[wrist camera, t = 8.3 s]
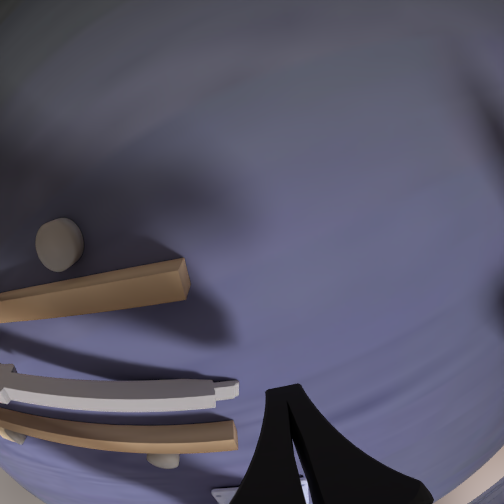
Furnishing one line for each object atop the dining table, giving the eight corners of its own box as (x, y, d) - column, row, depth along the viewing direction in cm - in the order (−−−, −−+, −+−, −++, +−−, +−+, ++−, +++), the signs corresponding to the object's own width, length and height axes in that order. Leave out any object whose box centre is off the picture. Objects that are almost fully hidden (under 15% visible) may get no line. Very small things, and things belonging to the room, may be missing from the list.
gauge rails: (249, 462, 16) (251, 488, 14) (3, 437, 16) (-5, 451, 13) (162, 153, 10) (144, 150, 8) (-89, 263, 10) (-105, 272, 7)
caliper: (-25, 346, 13) (-66, 391, 7) (-30, 334, 12) (-74, 378, 6) (238, 389, 14) (245, 488, 8) (238, 375, 14) (246, 477, 8)
